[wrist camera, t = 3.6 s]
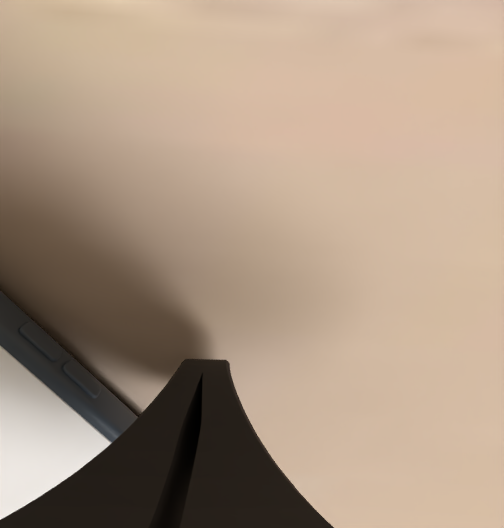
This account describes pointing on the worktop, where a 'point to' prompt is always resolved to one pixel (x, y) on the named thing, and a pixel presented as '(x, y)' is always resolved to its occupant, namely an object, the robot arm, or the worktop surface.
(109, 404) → the phone case
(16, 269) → the worktop surface
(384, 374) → the worktop surface
